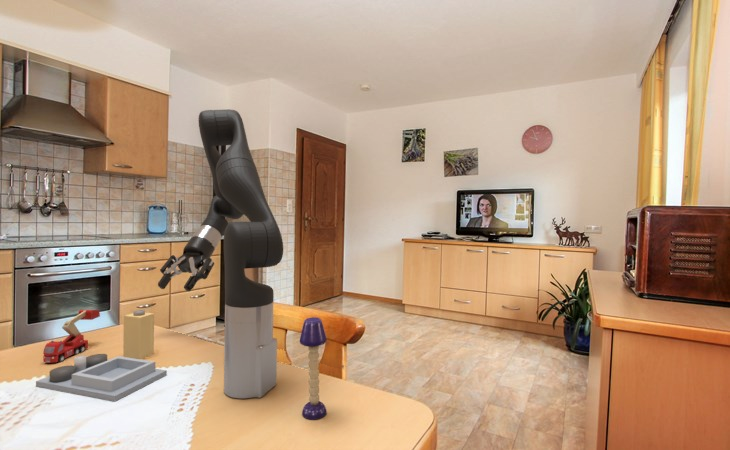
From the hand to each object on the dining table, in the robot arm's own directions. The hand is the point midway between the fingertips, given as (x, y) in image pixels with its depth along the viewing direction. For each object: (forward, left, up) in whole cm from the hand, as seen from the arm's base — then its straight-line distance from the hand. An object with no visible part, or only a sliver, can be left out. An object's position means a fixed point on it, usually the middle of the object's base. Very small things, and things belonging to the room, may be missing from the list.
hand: (173, 288), depth 100 cm
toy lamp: (-51, +23, -15) cm, 58 cm away
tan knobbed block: (0, +11, -14) cm, 18 cm away
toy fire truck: (+16, +15, -15) cm, 26 cm away
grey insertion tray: (-5, +24, -14) cm, 28 cm away
